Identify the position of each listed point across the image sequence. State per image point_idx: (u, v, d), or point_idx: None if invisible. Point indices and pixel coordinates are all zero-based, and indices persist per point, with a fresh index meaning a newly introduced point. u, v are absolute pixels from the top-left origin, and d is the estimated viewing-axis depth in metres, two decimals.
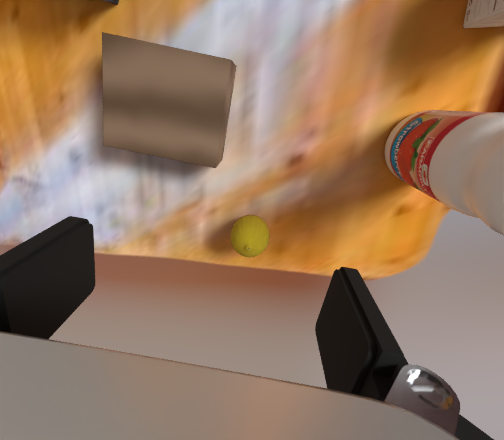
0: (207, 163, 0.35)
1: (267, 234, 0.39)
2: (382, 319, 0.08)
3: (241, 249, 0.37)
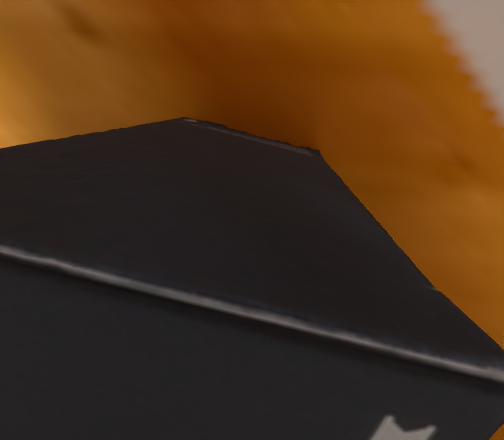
0: None
1: None
2: None
3: None
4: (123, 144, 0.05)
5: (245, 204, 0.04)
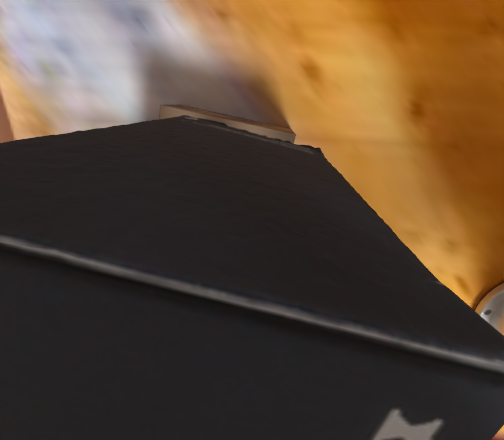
0: None
1: None
2: None
3: None
4: (125, 140, 0.05)
5: (248, 198, 0.04)
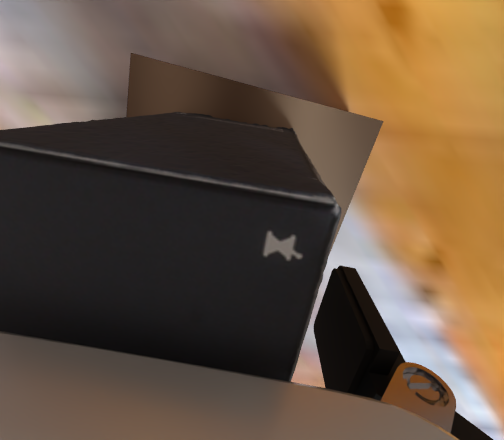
0: None
1: None
2: (379, 317, 0.08)
3: None
4: (124, 123, 0.07)
5: (204, 147, 0.06)
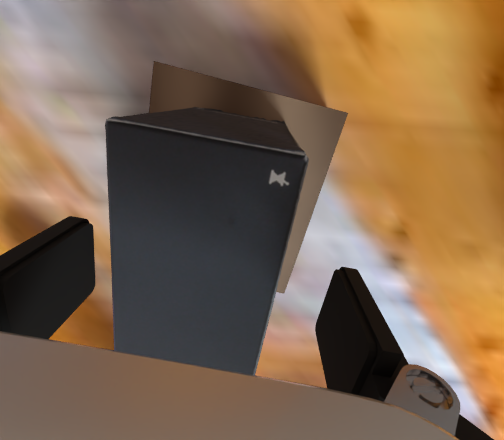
0: None
1: None
2: (382, 319, 0.08)
3: None
4: (175, 114, 0.11)
5: (232, 129, 0.10)
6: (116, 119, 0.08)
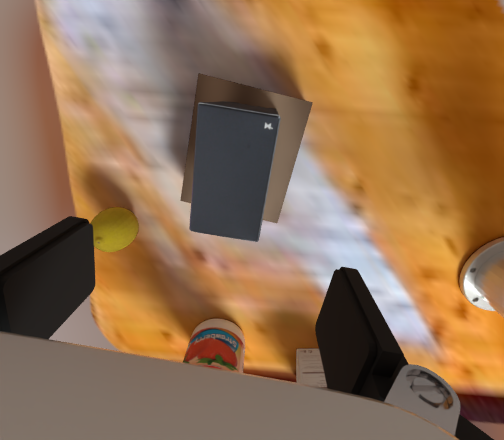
0: (184, 193, 0.34)
1: (119, 249, 0.37)
2: (382, 319, 0.08)
3: (95, 233, 0.34)
4: None
5: (247, 108, 0.22)
6: (202, 103, 0.20)
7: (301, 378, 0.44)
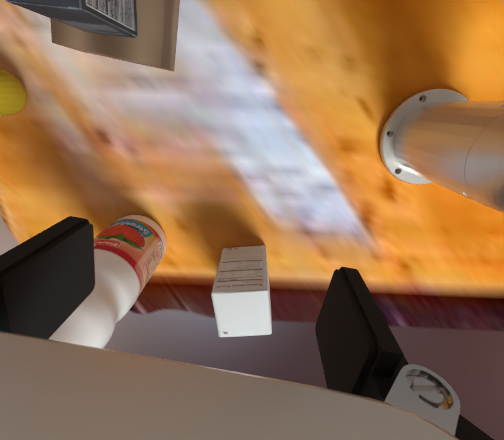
0: (54, 32, 0.31)
1: (0, 113, 0.35)
2: (382, 319, 0.08)
3: None
4: None
5: None
6: None
7: (219, 266, 0.41)
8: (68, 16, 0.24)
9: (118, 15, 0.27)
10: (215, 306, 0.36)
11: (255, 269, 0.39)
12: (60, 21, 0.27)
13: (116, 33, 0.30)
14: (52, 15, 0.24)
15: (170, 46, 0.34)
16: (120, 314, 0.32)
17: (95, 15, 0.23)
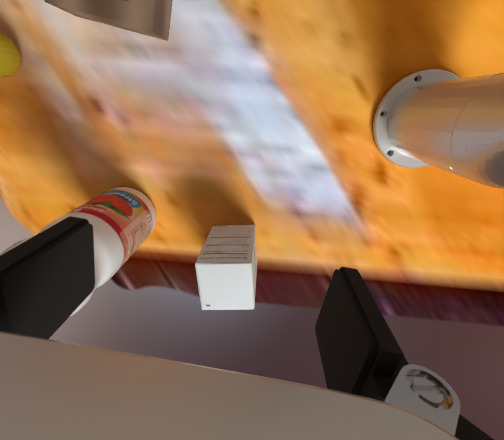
0: None
1: None
2: (382, 319, 0.08)
3: None
4: None
5: None
6: None
7: (206, 241, 0.41)
8: None
9: None
10: (198, 277, 0.36)
11: (241, 245, 0.39)
12: None
13: None
14: None
15: (164, 13, 0.34)
16: (102, 278, 0.32)
17: None
